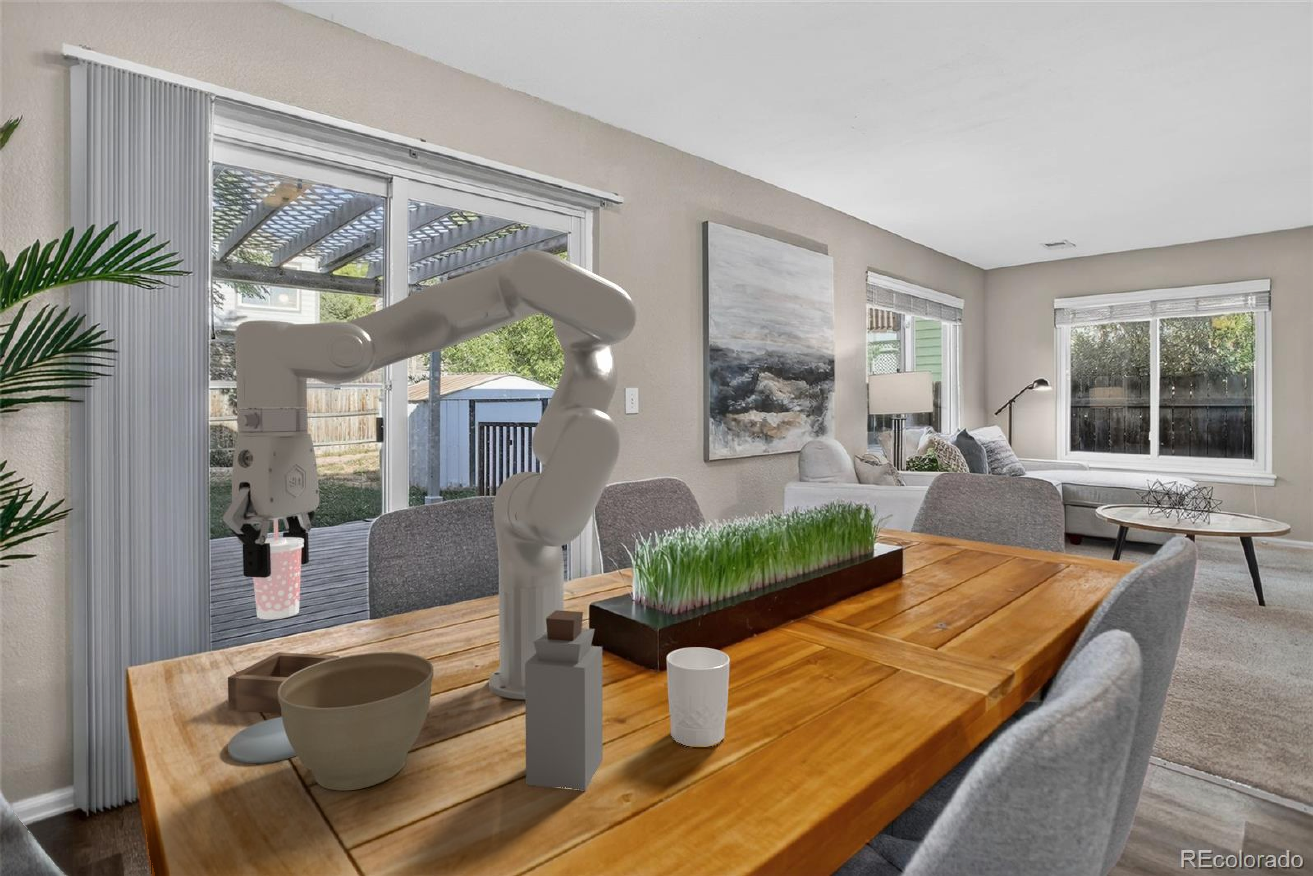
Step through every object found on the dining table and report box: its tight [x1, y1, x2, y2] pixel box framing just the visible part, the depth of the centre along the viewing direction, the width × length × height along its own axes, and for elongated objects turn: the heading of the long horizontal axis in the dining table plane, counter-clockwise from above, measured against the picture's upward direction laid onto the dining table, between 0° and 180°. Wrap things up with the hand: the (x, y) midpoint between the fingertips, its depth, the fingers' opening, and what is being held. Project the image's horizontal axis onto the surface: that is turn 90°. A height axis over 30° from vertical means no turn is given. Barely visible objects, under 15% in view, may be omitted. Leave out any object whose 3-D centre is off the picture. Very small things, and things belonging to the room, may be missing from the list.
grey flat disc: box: [227, 716, 298, 764], centre depth 87 cm, size 11×11×1 cm
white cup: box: [666, 646, 731, 747], centre depth 88 cm, size 8×8×10 cm
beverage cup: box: [252, 519, 304, 620], centre depth 86 cm, size 6×6×14 cm
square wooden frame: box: [227, 651, 340, 715], centre depth 100 cm, size 10×10×4 cm
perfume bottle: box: [524, 610, 604, 792], centre depth 79 cm, size 7×7×18 cm
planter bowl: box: [278, 651, 434, 791], centre depth 80 cm, size 16×16×11 cm
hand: (277, 568), depth 86 cm, fingers closed on beverage cup, 6 cm apart
